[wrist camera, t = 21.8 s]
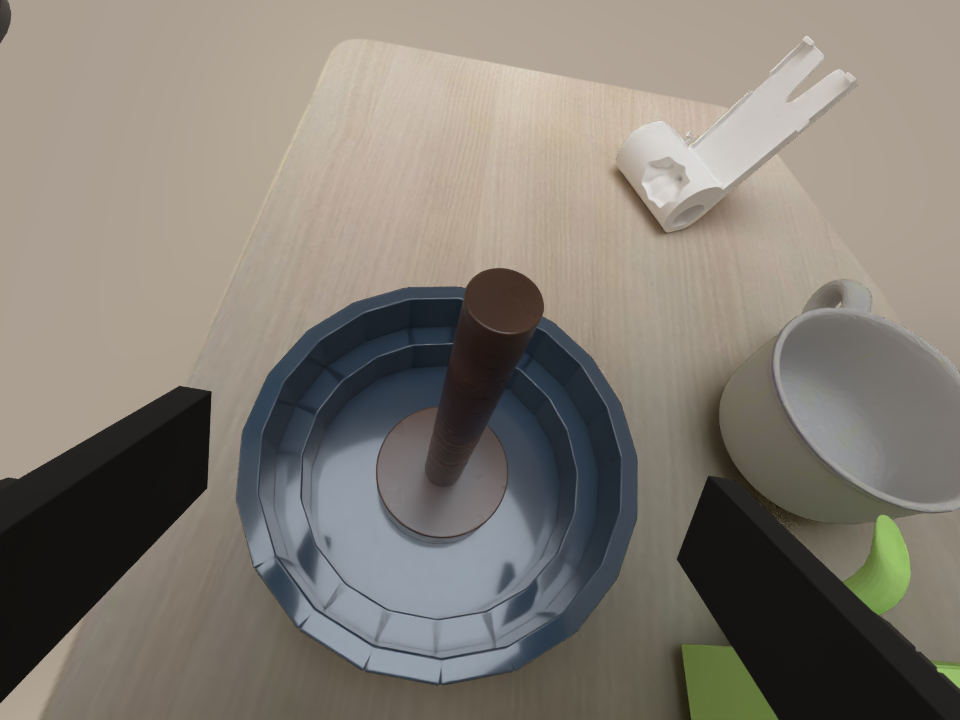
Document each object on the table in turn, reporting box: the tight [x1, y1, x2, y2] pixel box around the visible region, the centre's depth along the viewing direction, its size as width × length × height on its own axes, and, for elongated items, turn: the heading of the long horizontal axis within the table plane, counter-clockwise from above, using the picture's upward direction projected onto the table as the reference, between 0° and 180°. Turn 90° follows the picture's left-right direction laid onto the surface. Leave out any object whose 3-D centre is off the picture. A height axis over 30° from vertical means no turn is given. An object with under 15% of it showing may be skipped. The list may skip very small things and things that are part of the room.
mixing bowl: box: [236, 287, 637, 686], centre depth 22 cm, size 17×17×6 cm
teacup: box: [719, 279, 960, 524], centre depth 27 cm, size 14×11×8 cm
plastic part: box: [616, 36, 858, 233], centre depth 34 cm, size 8×10×12 cm
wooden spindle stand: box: [376, 268, 544, 544], centre depth 17 cm, size 6×6×16 cm
